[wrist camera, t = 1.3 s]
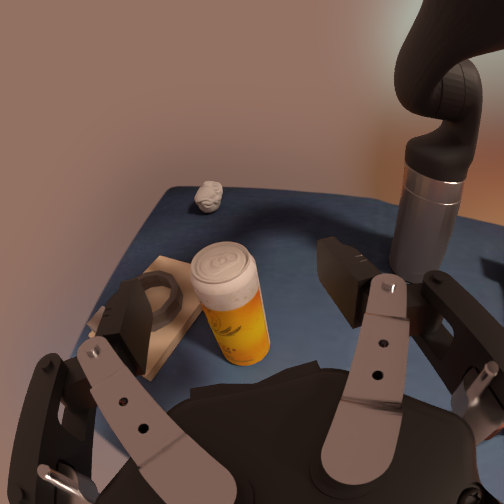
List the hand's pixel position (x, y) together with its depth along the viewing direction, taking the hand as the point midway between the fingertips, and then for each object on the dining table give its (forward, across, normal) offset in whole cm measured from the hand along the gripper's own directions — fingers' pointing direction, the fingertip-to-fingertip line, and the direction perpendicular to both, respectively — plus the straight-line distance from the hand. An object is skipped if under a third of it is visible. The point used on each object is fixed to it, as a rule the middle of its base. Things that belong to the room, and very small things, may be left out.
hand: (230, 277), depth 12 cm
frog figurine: (+50, +1, +13) cm, 51 cm away
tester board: (+24, +13, +18) cm, 33 cm away
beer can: (+14, 0, +20) cm, 24 cm away
